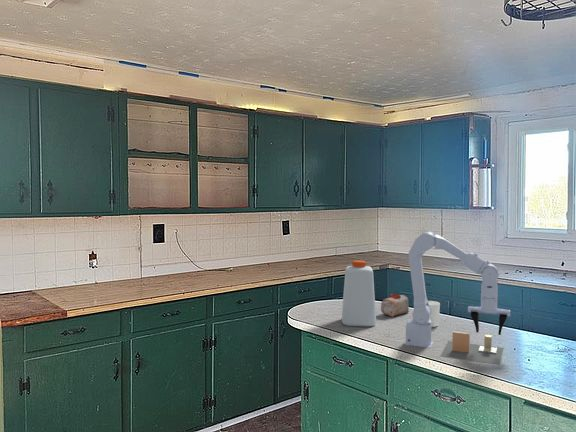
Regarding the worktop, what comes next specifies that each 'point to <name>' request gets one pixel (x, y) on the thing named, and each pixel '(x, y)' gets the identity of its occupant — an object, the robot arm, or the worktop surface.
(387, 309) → the food item
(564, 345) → the worktop surface
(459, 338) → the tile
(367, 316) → the plastic bottle
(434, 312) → the white cup
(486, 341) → the beige blocky piece
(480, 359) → the mat
